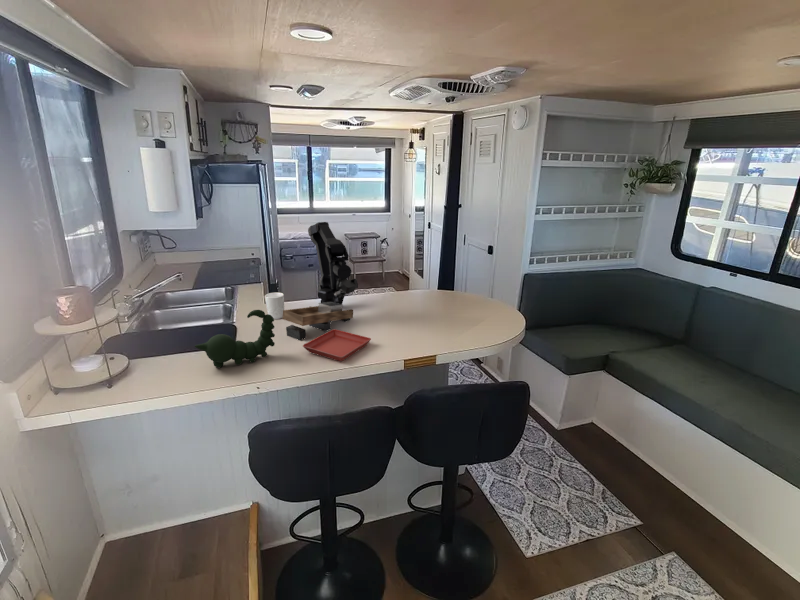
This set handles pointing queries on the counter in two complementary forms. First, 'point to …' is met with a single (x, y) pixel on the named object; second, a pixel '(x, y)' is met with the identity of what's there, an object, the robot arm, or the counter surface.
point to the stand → (301, 333)
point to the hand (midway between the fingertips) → (339, 307)
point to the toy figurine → (240, 344)
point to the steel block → (329, 307)
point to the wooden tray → (314, 315)
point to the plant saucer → (337, 344)
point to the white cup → (275, 304)
